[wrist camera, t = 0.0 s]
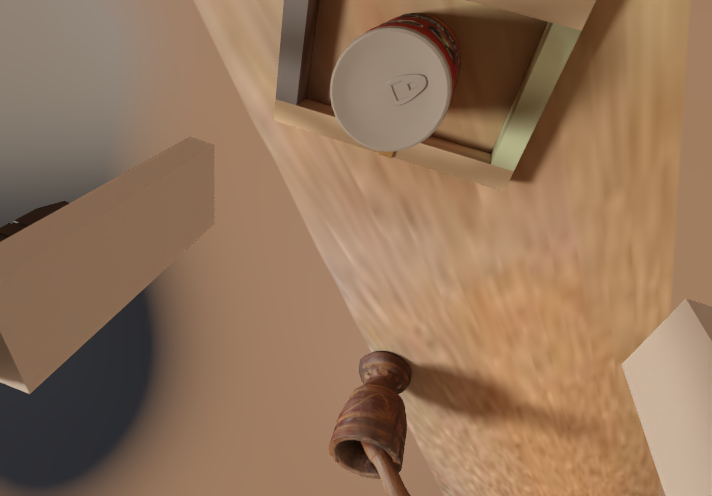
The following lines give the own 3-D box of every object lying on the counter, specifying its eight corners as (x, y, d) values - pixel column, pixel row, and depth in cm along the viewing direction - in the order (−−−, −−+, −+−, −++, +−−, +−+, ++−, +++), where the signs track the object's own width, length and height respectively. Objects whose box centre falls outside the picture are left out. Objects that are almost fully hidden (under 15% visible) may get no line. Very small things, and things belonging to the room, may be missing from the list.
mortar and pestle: (431, 345, 52) (406, 510, 36) (446, 390, 56) (428, 557, 40) (349, 348, 57) (294, 496, 41) (368, 390, 61) (324, 540, 45)
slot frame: (303, -78, 31) (289, -82, 29) (590, -4, 29) (598, -2, 27) (284, 113, 40) (272, 121, 38) (503, 179, 38) (504, 193, 36)
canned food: (479, 70, 34) (476, 105, 25) (403, 127, 38) (377, 174, 29) (425, -14, 32) (400, -7, 23) (350, 57, 36) (305, 85, 27)
